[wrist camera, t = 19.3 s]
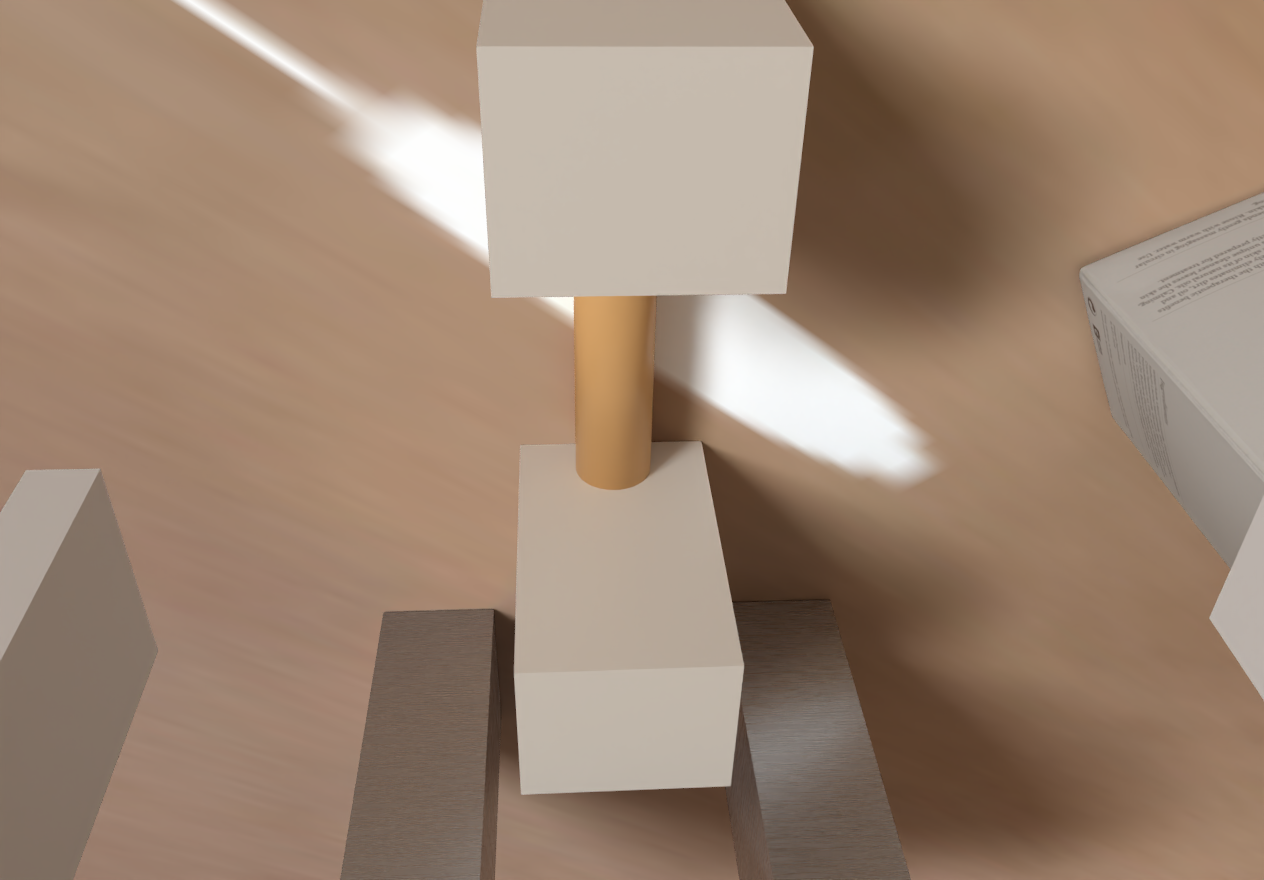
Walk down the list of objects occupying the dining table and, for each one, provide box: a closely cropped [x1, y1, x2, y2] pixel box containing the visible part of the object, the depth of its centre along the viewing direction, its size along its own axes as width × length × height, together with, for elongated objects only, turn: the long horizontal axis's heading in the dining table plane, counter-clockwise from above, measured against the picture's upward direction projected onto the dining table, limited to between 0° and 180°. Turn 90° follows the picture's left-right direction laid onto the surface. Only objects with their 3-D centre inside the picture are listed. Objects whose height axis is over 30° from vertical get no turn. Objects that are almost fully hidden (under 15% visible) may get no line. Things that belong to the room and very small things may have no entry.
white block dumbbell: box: [476, 0, 814, 795], centre depth 30 cm, size 6×21×10 cm, turn 179°
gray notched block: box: [340, 600, 911, 880], centre depth 37 cm, size 16×6×16 cm, turn 89°
